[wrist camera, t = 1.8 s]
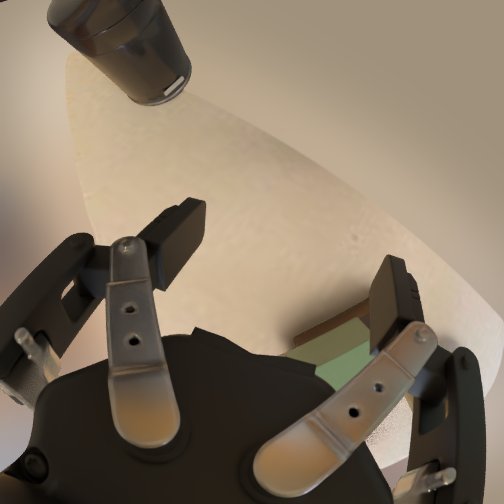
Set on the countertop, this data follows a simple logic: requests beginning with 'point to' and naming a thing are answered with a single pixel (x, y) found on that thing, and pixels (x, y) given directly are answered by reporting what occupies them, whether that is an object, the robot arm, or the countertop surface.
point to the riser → (336, 322)
